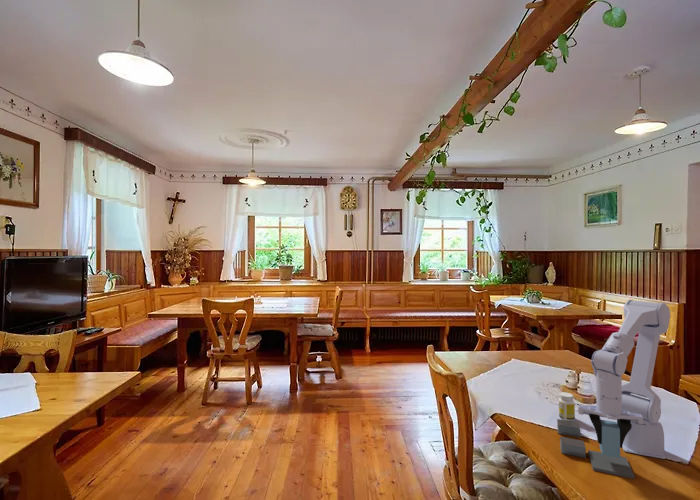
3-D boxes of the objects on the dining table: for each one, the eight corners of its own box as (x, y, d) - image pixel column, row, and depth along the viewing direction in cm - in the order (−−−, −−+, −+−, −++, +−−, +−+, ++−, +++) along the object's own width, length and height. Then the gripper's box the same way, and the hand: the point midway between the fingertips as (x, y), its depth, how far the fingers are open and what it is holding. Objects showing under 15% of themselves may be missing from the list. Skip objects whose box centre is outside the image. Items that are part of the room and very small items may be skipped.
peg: (616, 450, 100) (616, 422, 100) (620, 458, 96) (619, 428, 96) (599, 447, 102) (599, 419, 102) (602, 454, 98) (601, 425, 98)
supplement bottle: (576, 417, 126) (575, 394, 126) (573, 422, 123) (572, 398, 123) (560, 413, 129) (560, 390, 129) (557, 418, 126) (557, 394, 126)
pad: (625, 460, 101) (625, 457, 101) (634, 479, 93) (634, 476, 93) (588, 452, 105) (588, 449, 105) (593, 470, 97) (593, 467, 97)
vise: (577, 427, 119) (577, 418, 119) (585, 458, 103) (585, 447, 103) (556, 424, 122) (556, 415, 122) (561, 453, 105) (561, 443, 105)
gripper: (579, 396, 99) (580, 445, 99) (646, 405, 92) (646, 457, 92) (576, 386, 105) (577, 432, 105) (638, 395, 99) (639, 444, 99)
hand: (609, 443), depth 99 cm, fingers closed on peg, 4 cm apart
